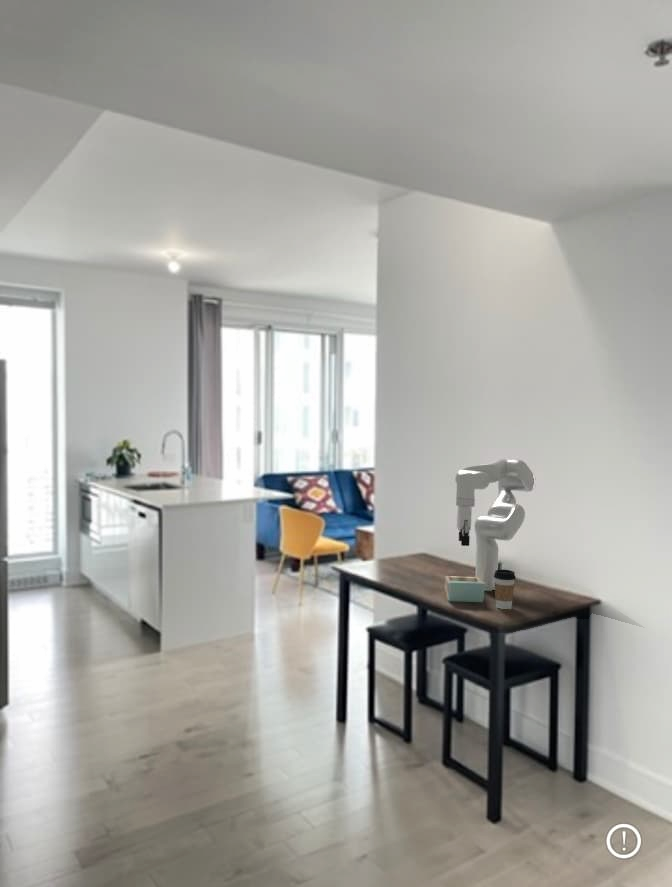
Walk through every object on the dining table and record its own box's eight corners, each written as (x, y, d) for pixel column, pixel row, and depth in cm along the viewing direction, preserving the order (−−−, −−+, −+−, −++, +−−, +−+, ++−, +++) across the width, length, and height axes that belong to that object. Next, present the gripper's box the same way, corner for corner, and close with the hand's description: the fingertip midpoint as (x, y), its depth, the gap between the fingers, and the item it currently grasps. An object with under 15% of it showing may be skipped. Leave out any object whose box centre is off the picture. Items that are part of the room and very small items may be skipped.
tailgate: (482, 600, 275) (484, 581, 271) (483, 602, 274) (485, 583, 270) (448, 599, 276) (449, 580, 272) (448, 601, 275) (449, 582, 271)
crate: (478, 593, 287) (478, 577, 287) (482, 601, 275) (483, 584, 275) (444, 592, 288) (445, 576, 288) (447, 600, 276) (448, 583, 276)
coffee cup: (496, 611, 262) (497, 573, 262) (490, 604, 271) (491, 568, 270) (517, 611, 263) (518, 573, 262) (510, 605, 271) (512, 568, 270)
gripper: (454, 499, 288) (452, 539, 289) (458, 504, 271) (456, 547, 271) (471, 499, 287) (470, 539, 288) (477, 505, 270) (475, 547, 271)
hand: (463, 543), depth 280 cm, fingers open, 9 cm apart
